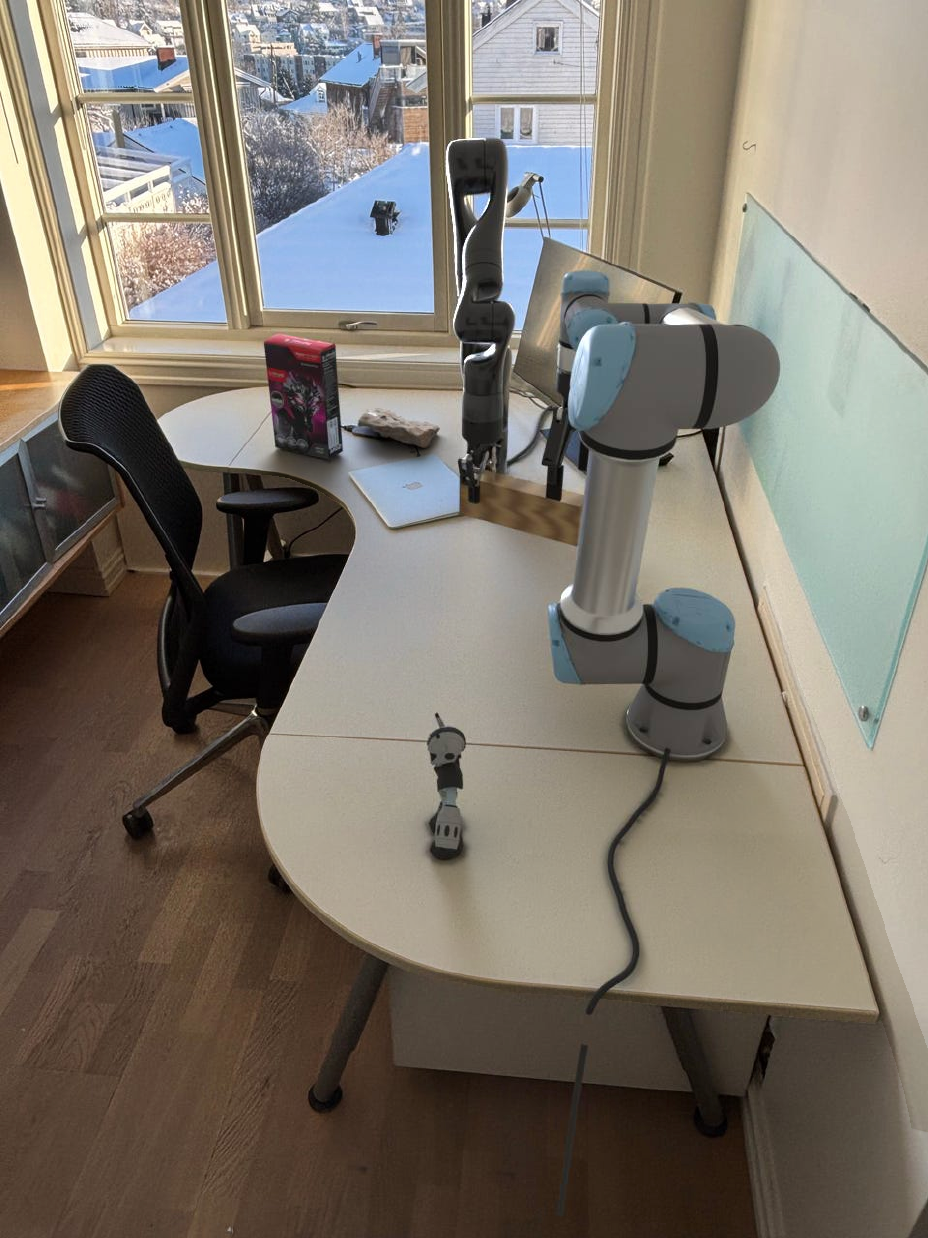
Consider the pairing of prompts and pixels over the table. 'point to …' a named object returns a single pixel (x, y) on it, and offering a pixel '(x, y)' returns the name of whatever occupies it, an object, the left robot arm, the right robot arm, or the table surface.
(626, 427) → the right robot arm
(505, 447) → the left robot arm
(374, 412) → the stone
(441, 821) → the robot
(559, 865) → the table surface
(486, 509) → the bar
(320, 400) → the graphics card box
